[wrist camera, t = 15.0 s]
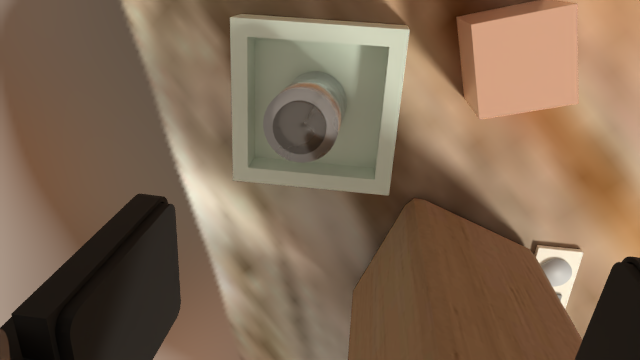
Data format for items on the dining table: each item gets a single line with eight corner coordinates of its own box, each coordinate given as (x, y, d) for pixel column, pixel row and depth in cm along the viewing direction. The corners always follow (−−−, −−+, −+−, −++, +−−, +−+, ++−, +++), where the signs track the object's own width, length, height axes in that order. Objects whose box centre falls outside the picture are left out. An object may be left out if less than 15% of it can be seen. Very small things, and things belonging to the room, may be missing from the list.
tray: (241, 13, 30) (229, 17, 27) (407, 25, 29) (409, 29, 27) (242, 166, 34) (232, 180, 31) (388, 179, 33) (388, 195, 31)
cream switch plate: (537, 245, 34) (539, 249, 33) (581, 249, 34) (584, 253, 33) (518, 313, 36) (520, 318, 36) (559, 317, 36) (562, 323, 35)
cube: (456, 16, 29) (471, 24, 24) (544, -2, 28) (577, 3, 23) (463, 98, 30) (479, 119, 26) (547, 83, 30) (578, 103, 25)
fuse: (283, 71, 30) (258, 89, 24) (347, 71, 30) (337, 90, 24) (286, 132, 32) (263, 164, 26) (346, 133, 31) (337, 165, 25)
